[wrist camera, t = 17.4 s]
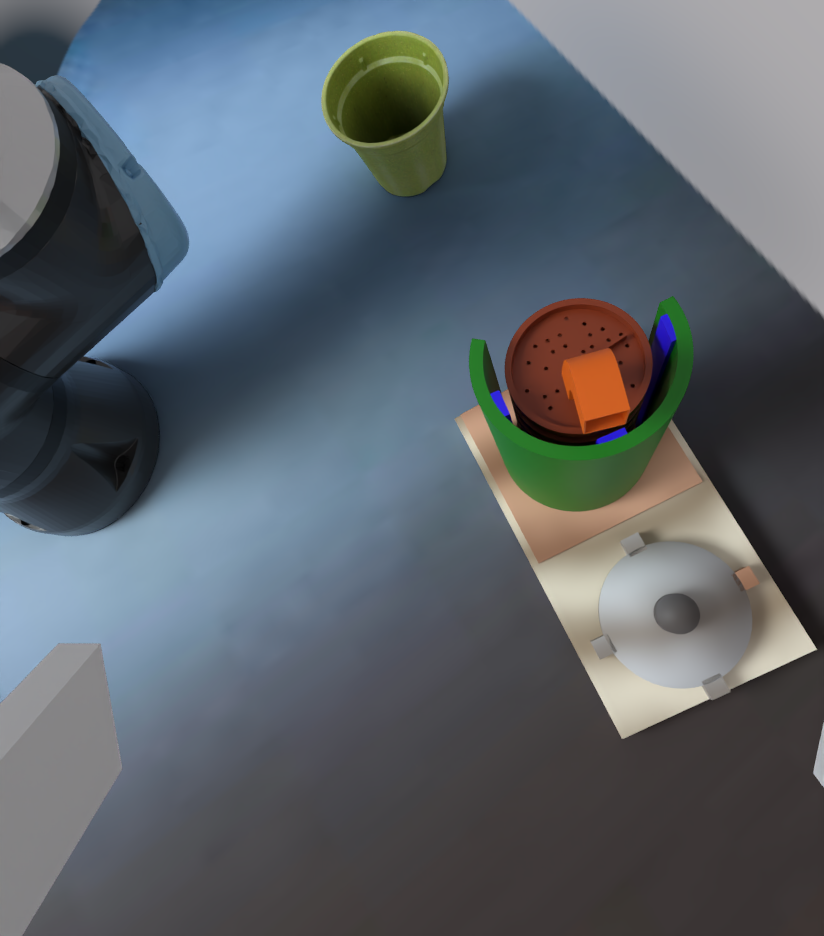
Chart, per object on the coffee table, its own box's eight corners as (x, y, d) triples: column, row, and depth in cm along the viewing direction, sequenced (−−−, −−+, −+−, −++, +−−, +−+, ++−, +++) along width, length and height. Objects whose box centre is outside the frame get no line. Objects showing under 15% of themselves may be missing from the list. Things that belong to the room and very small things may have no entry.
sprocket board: (457, 423, 49) (447, 406, 45) (615, 340, 48) (620, 314, 44) (620, 734, 43) (626, 749, 38) (808, 647, 41) (836, 652, 37)
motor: (618, 361, 46) (657, 189, 27) (678, 475, 44) (768, 375, 24) (485, 420, 47) (432, 297, 28) (536, 535, 45) (515, 484, 26)
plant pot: (350, 218, 55) (313, 150, 47) (363, 119, 57) (328, 36, 48) (461, 214, 53) (442, 142, 45) (470, 111, 55) (453, 23, 46)
